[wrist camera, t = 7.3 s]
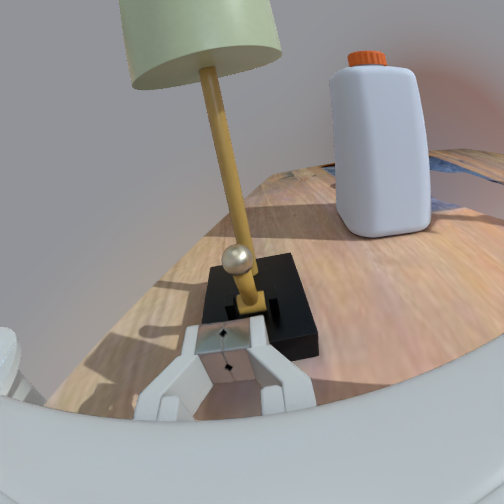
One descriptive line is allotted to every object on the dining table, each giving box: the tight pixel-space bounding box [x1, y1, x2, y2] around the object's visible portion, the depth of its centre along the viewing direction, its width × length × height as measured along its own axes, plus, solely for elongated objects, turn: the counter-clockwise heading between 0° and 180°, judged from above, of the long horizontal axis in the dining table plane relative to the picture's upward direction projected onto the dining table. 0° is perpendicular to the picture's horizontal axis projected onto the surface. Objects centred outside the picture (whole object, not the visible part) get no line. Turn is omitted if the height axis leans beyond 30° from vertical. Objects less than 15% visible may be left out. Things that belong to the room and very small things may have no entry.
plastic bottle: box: [329, 51, 431, 237], centre depth 38 cm, size 15×15×28 cm
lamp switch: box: [222, 244, 267, 315], centre depth 22 cm, size 2×2×9 cm
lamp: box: [119, 0, 319, 361], centre depth 23 cm, size 18×14×35 cm
